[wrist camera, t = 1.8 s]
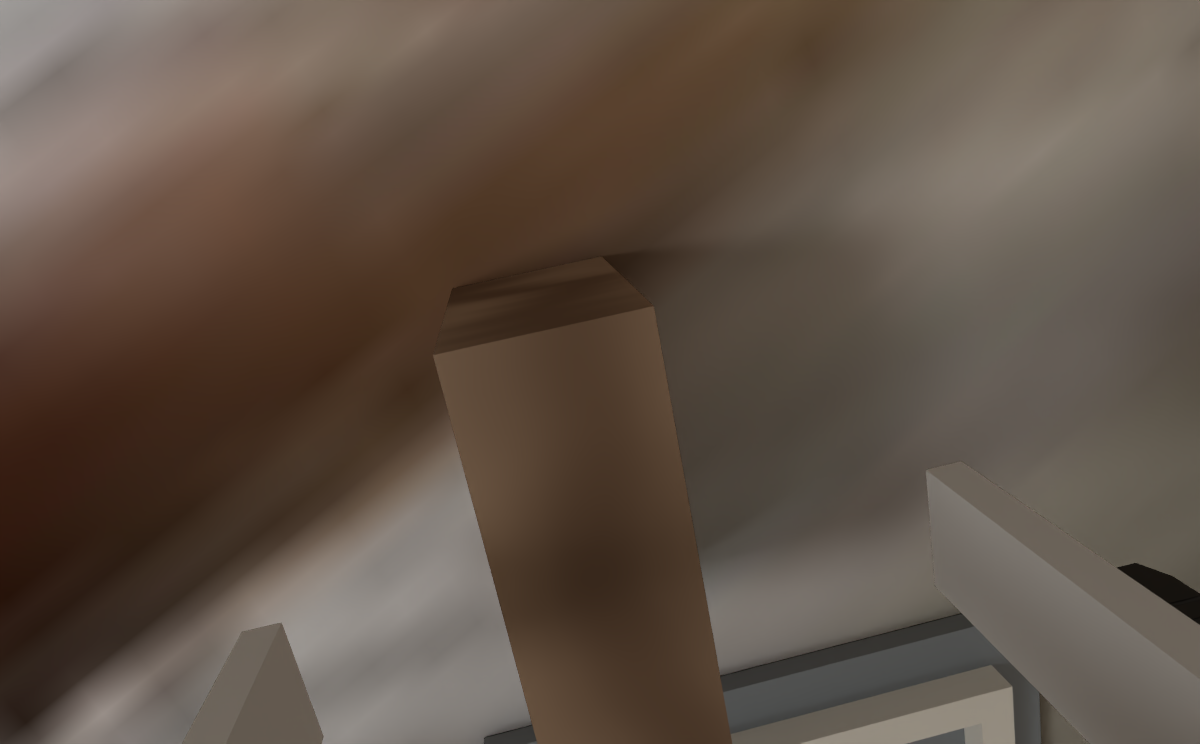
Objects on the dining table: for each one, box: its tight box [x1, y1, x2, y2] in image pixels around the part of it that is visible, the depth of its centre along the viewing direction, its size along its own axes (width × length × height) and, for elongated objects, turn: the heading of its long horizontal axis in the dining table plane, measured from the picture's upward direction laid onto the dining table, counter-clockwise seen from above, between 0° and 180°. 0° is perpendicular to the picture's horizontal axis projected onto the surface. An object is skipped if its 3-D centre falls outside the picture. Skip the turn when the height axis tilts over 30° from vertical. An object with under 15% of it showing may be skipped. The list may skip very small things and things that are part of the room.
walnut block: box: [433, 256, 732, 744], centre depth 21 cm, size 4×11×8 cm, turn 11°
